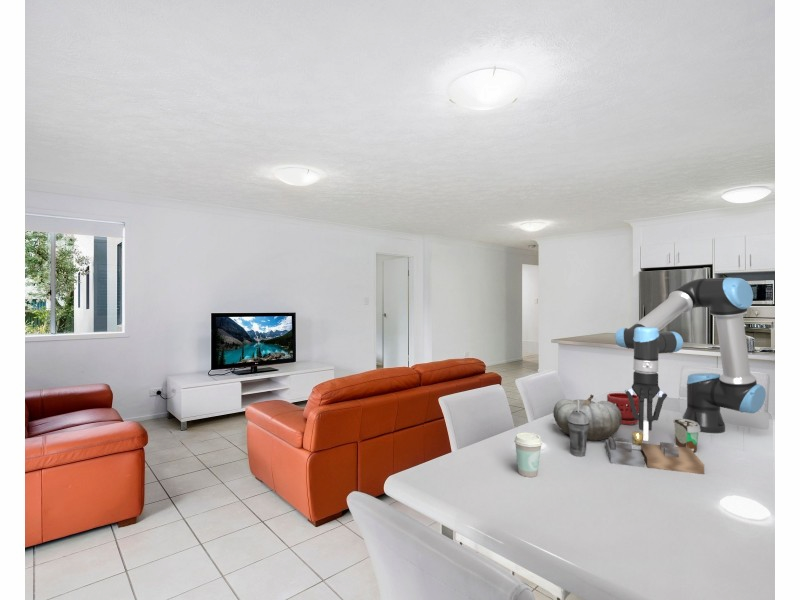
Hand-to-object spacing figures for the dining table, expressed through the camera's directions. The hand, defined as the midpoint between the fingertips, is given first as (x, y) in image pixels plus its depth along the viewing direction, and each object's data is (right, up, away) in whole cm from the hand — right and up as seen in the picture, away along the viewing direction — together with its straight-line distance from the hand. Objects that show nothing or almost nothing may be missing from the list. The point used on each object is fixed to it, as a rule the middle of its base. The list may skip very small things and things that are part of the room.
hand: (645, 439), depth 152 cm
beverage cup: (-21, -7, +4) cm, 23 cm away
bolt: (-5, -4, +2) cm, 6 cm away
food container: (+22, -7, +9) cm, 25 cm away
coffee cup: (-44, -7, -12) cm, 46 cm away
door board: (+2, -7, -1) cm, 7 cm away
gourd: (-10, -7, +25) cm, 28 cm away
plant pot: (+15, -6, +44) cm, 47 cm away
